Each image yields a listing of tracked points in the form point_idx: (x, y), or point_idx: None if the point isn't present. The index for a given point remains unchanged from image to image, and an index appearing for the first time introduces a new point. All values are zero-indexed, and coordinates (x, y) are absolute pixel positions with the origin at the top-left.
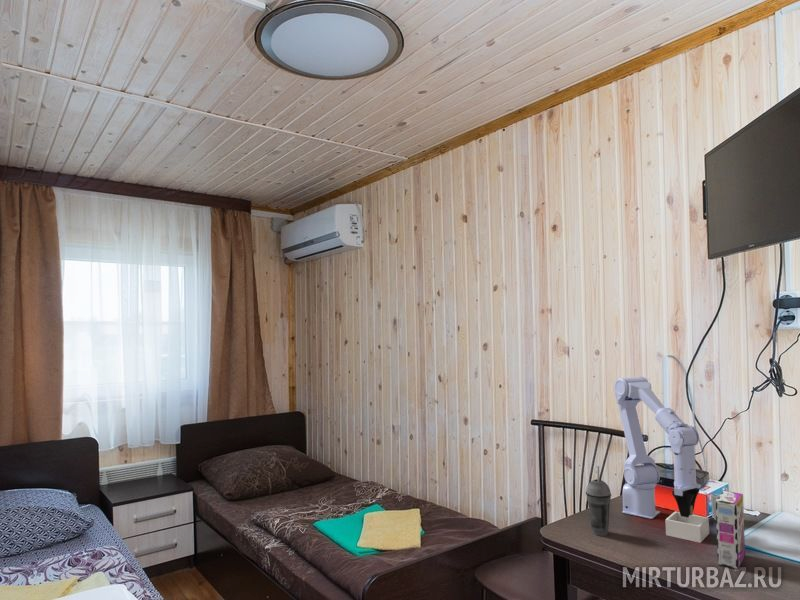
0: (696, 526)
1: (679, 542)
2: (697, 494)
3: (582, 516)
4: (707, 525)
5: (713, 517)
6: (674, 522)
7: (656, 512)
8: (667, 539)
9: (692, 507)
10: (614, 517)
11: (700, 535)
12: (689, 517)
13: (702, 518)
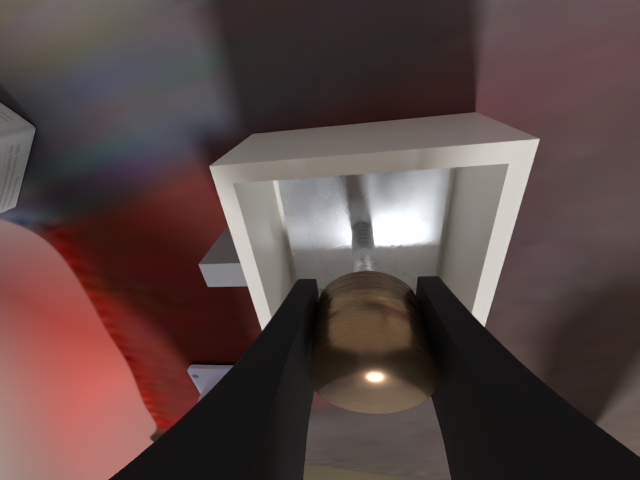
0: (527, 169)
1: (531, 211)
2: (146, 460)
3: (414, 471)
4: (271, 146)
5: (11, 201)
6: (485, 312)
7: (212, 373)
8: (509, 267)
9: (363, 323)
10: (359, 430)
11: (489, 122)
12: (269, 276)
13: (245, 204)
